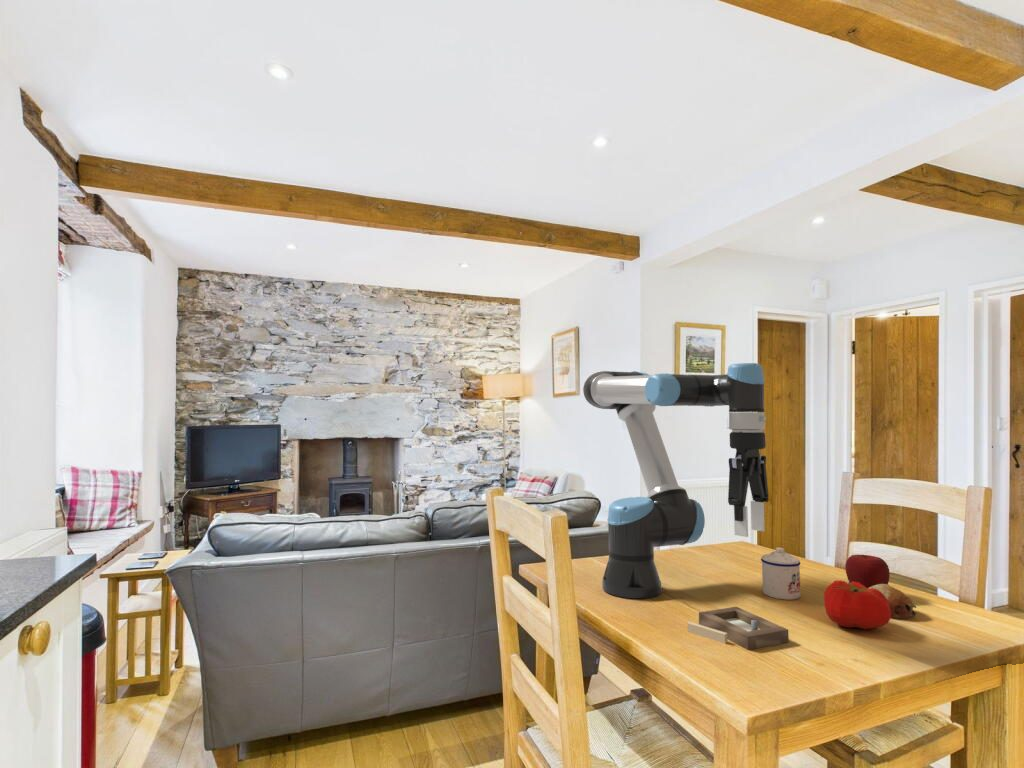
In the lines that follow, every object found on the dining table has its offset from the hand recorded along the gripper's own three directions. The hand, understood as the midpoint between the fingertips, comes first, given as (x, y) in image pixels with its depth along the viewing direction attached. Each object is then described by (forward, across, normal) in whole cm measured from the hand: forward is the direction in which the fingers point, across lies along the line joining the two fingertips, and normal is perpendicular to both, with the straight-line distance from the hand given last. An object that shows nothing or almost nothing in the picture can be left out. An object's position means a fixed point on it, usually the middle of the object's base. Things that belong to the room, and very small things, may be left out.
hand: (749, 532), depth 126 cm
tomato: (+19, +13, -17) cm, 29 cm away
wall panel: (+19, -14, -2) cm, 24 cm away
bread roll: (+20, +28, -19) cm, 39 cm away
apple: (+19, +39, -12) cm, 45 cm away
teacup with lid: (+19, +24, +3) cm, 31 cm away
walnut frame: (+18, -13, -4) cm, 22 cm away
